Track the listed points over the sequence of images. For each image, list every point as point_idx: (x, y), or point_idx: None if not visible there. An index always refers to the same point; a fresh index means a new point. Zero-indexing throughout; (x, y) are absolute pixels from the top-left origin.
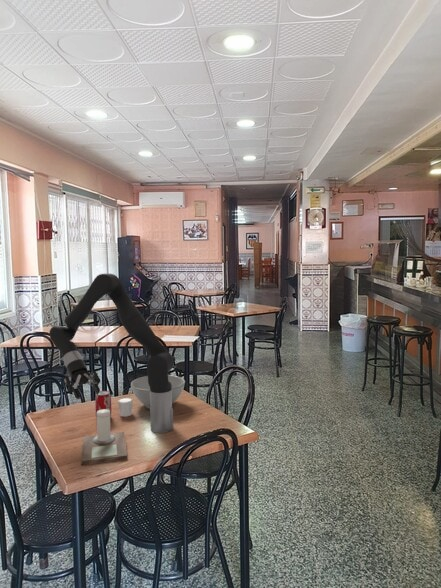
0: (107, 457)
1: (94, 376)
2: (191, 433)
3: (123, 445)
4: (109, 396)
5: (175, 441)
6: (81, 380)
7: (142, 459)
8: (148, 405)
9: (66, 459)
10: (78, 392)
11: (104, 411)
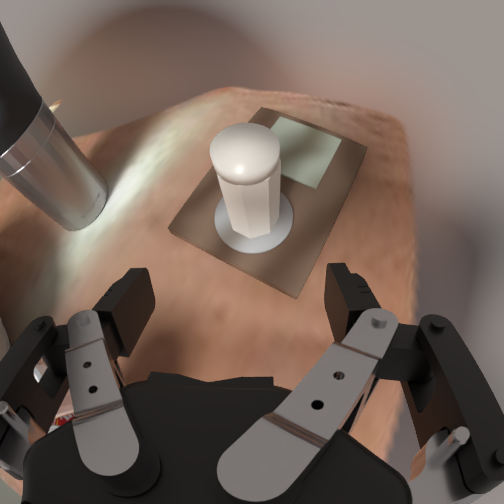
0: (305, 123)
1: (23, 402)
2: (79, 143)
3: None
4: (57, 419)
5: (126, 127)
6: (242, 405)
7: (236, 99)
8: (5, 342)
9: (390, 205)
10: (343, 283)
11: (238, 145)
